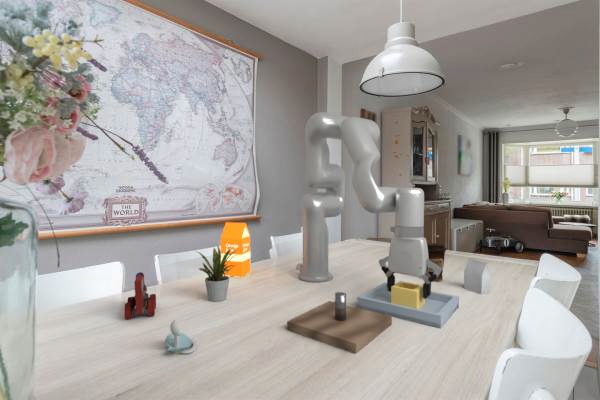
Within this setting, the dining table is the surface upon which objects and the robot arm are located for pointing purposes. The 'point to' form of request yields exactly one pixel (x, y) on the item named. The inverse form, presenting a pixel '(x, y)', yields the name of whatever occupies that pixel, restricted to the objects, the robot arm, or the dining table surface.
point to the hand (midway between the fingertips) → (408, 293)
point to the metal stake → (340, 306)
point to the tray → (429, 313)
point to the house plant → (217, 275)
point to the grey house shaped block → (477, 276)
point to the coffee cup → (436, 257)
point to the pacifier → (179, 341)
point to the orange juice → (236, 248)
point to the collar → (407, 294)
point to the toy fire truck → (140, 299)
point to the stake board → (340, 326)
